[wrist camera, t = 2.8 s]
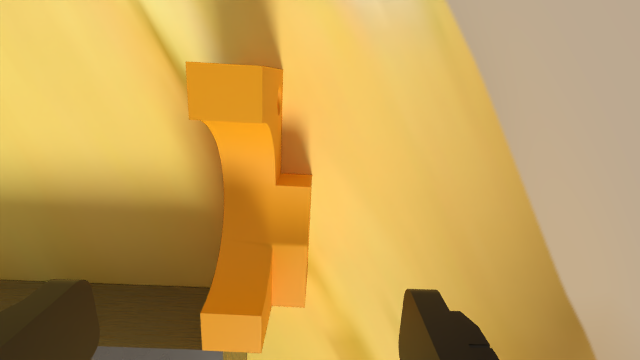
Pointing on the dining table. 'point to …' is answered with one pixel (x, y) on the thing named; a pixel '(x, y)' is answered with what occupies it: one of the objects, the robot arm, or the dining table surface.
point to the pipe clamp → (251, 205)
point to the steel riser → (140, 320)
